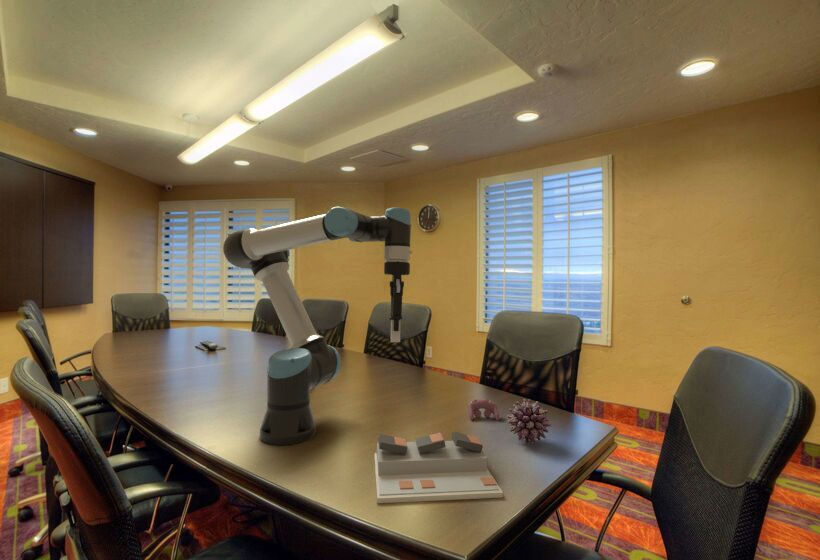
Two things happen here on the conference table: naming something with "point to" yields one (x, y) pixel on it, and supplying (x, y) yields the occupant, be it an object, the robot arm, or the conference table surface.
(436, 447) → the middle switch
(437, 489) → the switch panel
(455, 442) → the right switch
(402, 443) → the left switch
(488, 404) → the video game controller
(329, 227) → the robot arm
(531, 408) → the flower
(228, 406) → the conference table surface
